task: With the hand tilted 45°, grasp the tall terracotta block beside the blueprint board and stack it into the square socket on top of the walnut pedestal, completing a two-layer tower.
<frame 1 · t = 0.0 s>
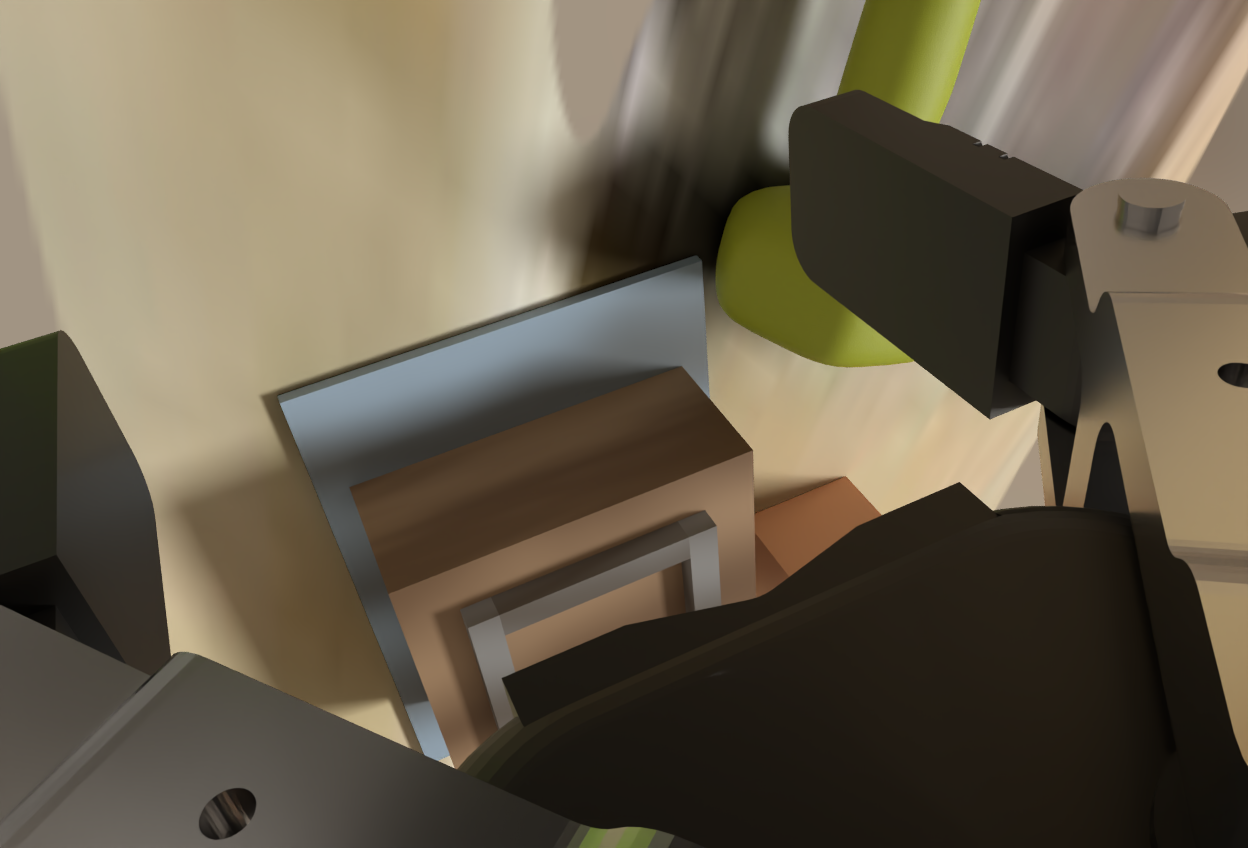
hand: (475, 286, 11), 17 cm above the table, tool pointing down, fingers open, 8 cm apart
terracotta block: (795, 536, 46), on the table
dumbbell: (824, 34, 32), on the table
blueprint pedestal: (544, 536, 40), on the table
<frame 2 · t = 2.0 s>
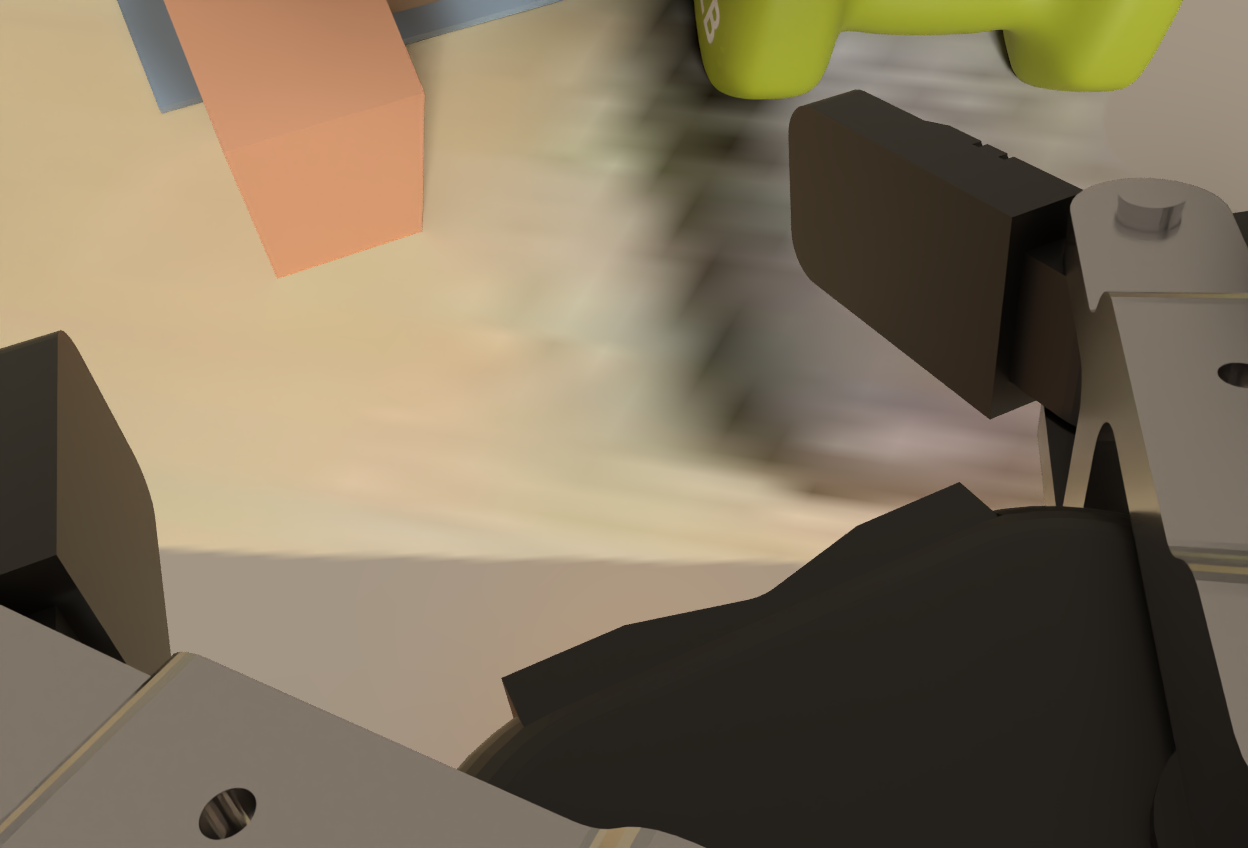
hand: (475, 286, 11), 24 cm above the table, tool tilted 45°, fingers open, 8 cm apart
terracotta block: (323, 186, 35), on the table
dumbbell: (884, 43, 41), on the table
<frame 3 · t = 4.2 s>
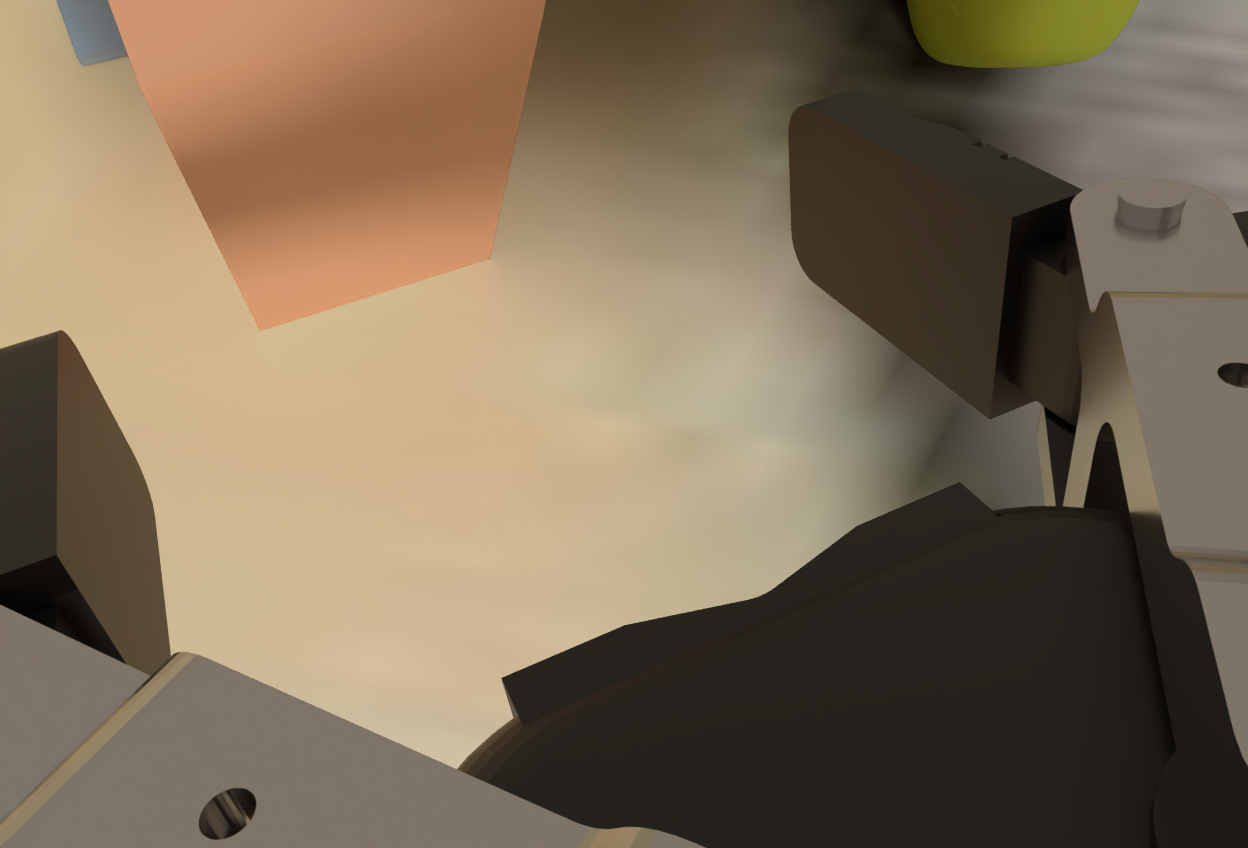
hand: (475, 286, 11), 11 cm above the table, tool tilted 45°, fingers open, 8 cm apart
terracotta block: (337, 186, 22), on the table
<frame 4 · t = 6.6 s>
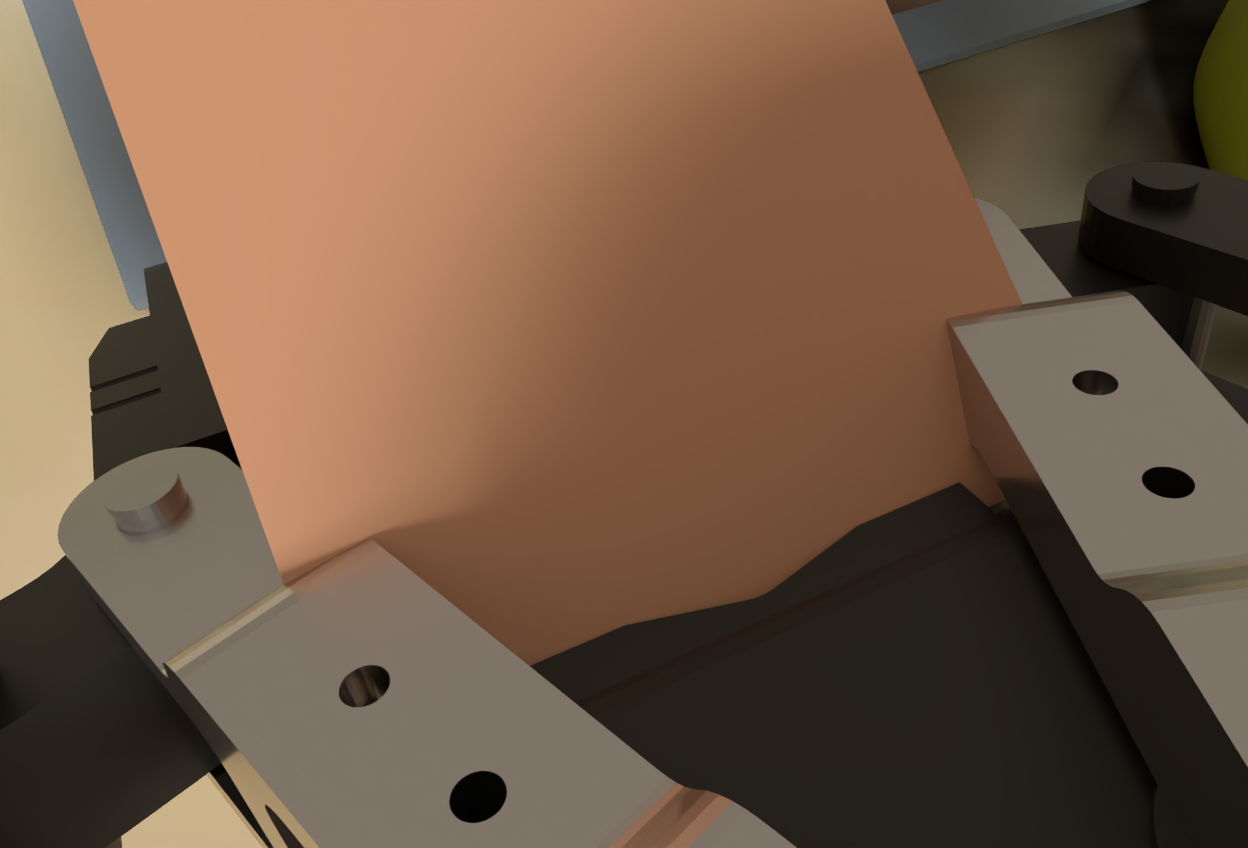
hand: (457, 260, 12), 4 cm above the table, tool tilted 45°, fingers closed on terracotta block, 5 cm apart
terracotta block: (488, 467, 16), on the table, touching gripper
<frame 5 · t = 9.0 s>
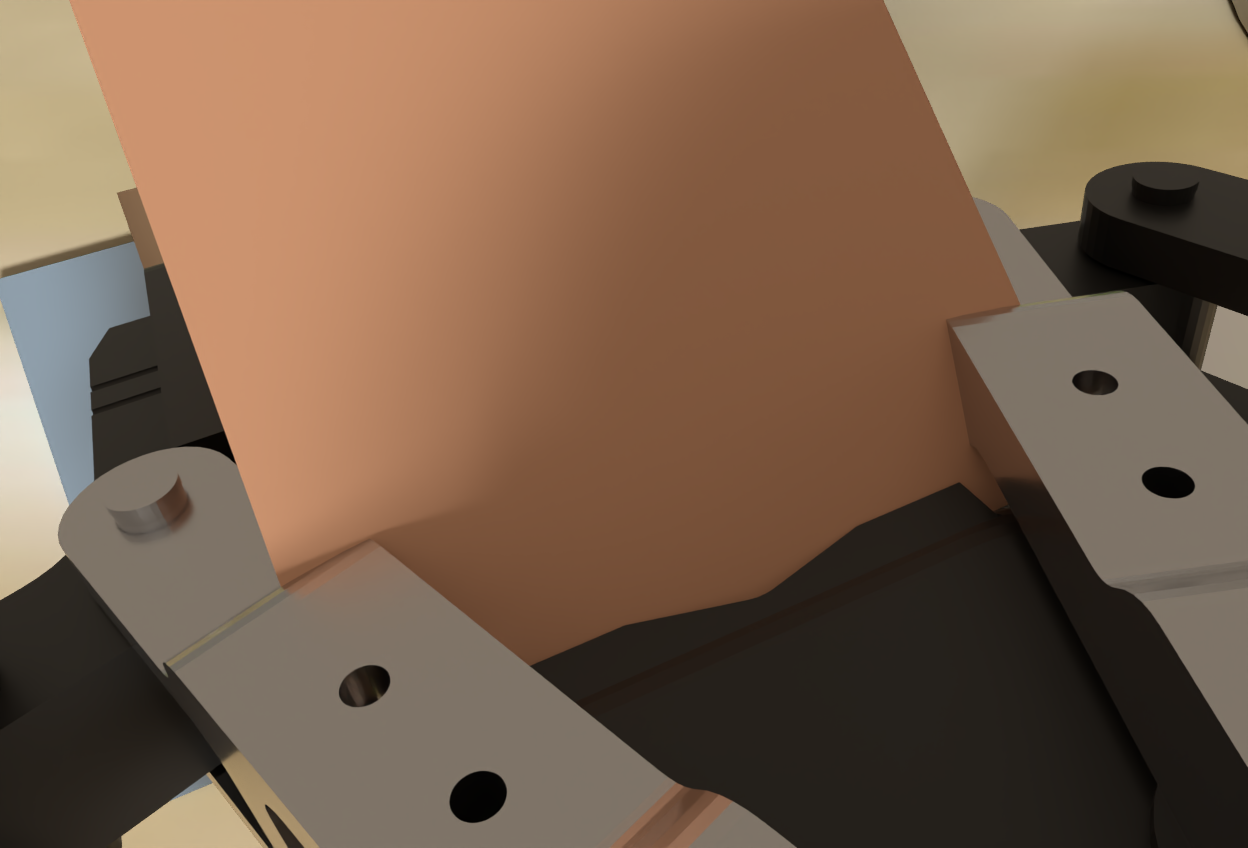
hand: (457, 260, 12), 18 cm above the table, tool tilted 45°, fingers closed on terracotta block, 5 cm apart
terracotta block: (488, 469, 16), point 13 cm above the table, touching gripper
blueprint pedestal: (455, 406, 29), on the table
when the fingers open (12 cm above the table, at t = 11.3 s): terracotta block drops 2 cm, resting on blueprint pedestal.
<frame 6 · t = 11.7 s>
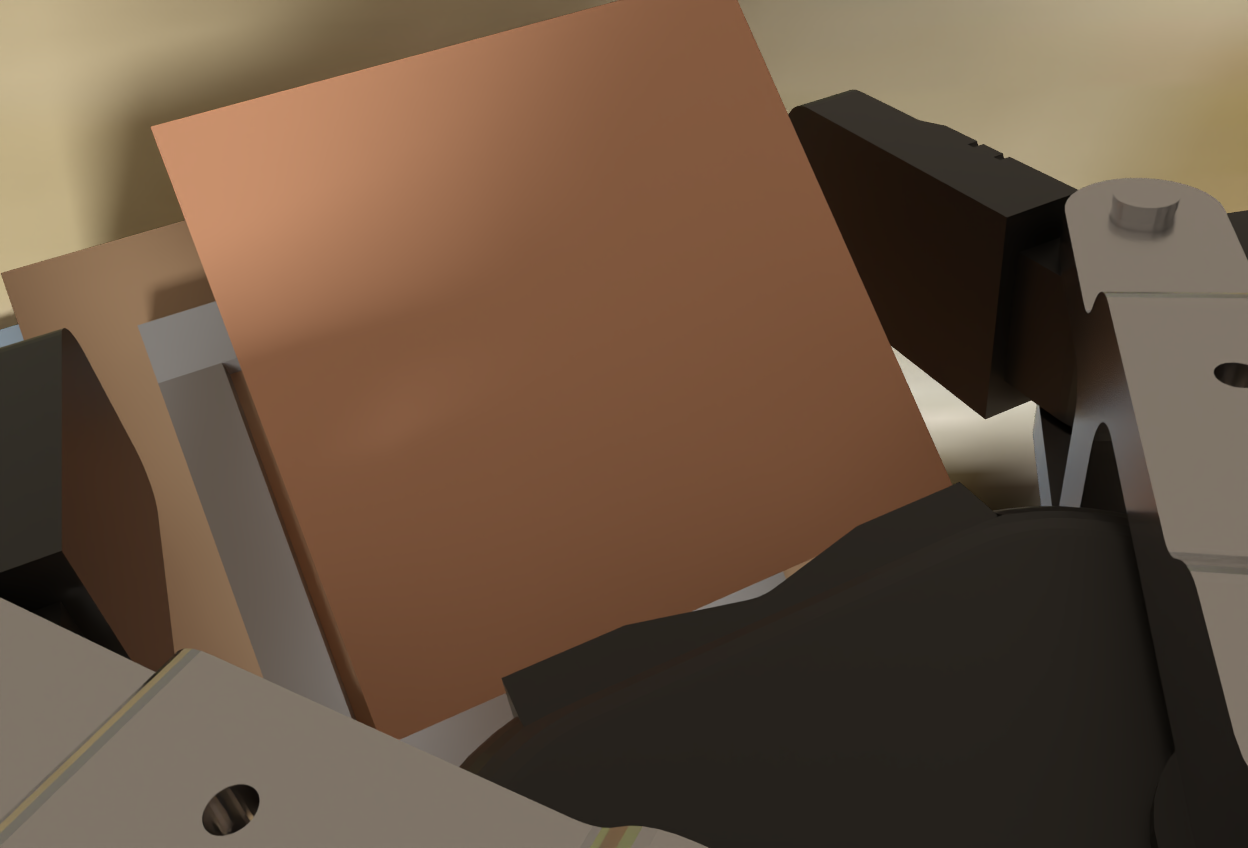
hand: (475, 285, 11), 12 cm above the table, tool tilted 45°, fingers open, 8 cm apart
terracotta block: (485, 483, 18), point 5 cm above the table, touching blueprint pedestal
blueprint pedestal: (463, 516, 23), on the table
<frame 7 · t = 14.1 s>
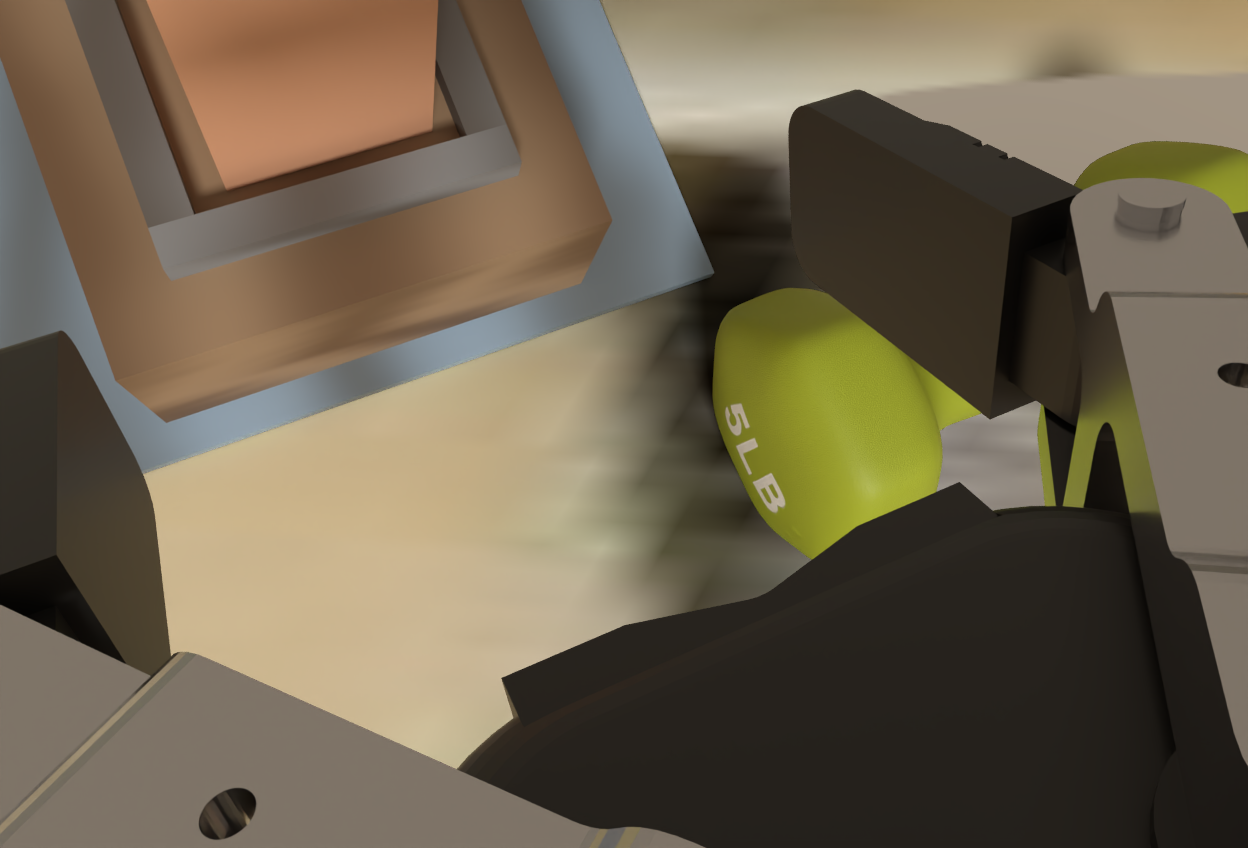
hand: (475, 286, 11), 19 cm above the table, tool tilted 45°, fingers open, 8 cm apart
terracotta block: (295, 67, 25), point 5 cm above the table, touching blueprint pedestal
dumbbell: (938, 374, 33), on the table
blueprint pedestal: (311, 163, 30), on the table
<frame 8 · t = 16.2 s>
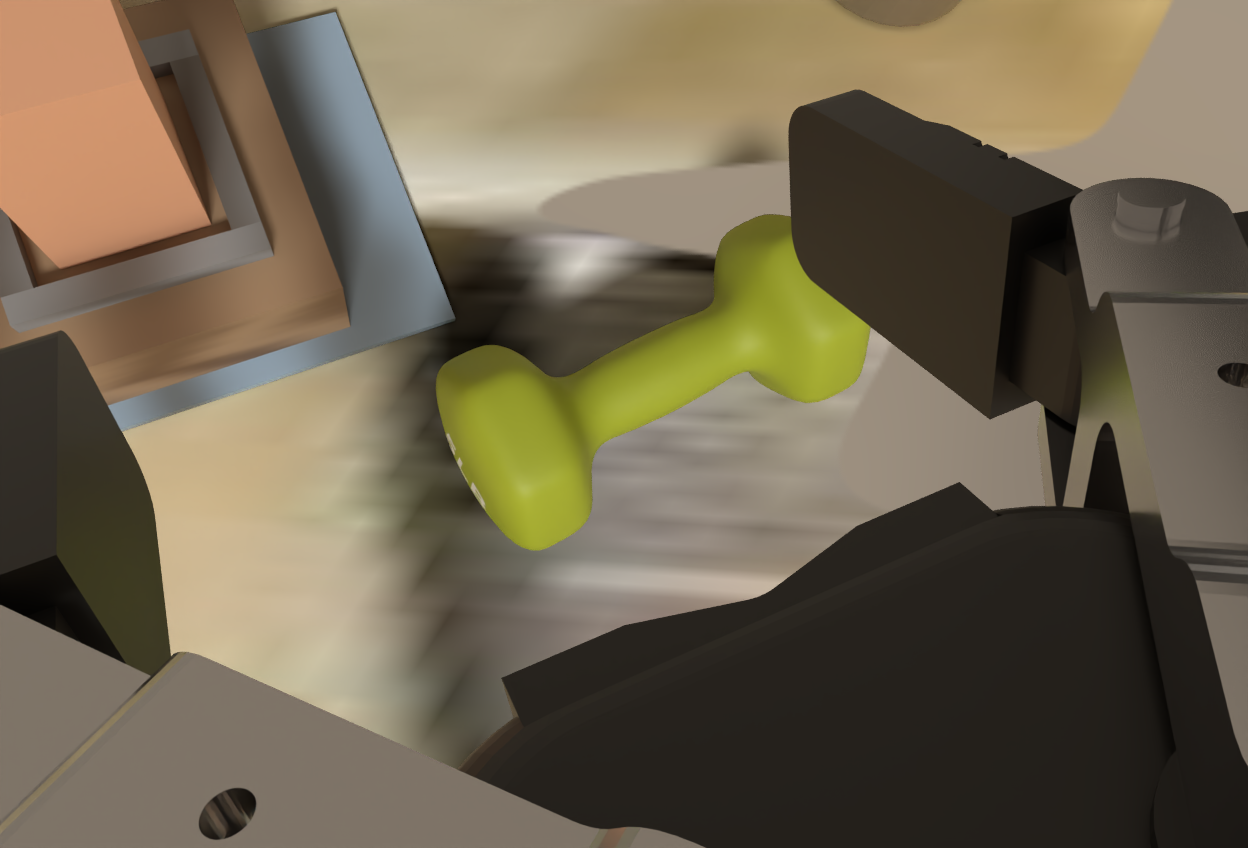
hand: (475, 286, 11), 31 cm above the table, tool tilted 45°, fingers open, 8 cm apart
terracotta block: (113, 181, 36), point 5 cm above the table, touching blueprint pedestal
dumbbell: (635, 395, 44), on the table
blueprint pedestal: (148, 237, 41), on the table
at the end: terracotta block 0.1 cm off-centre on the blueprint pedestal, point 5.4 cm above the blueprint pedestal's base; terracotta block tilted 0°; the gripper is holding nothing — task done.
